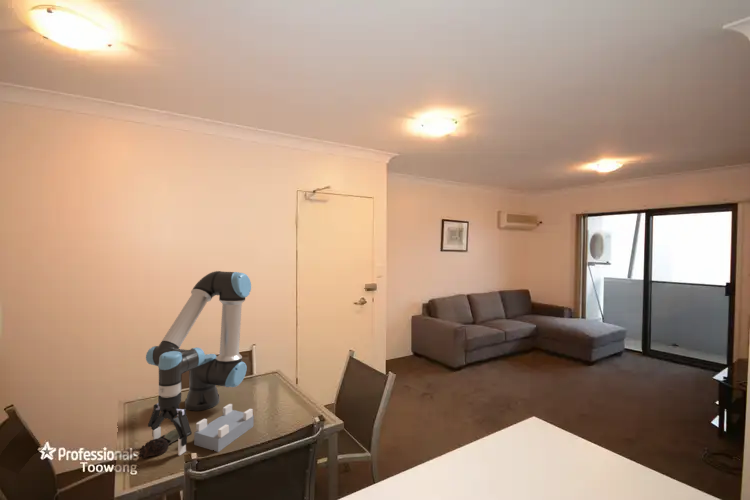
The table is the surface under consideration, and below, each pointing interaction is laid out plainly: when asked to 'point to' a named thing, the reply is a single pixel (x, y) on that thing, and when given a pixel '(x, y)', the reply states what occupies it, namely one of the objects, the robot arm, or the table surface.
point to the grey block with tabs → (223, 429)
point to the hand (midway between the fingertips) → (169, 449)
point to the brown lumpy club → (158, 444)
